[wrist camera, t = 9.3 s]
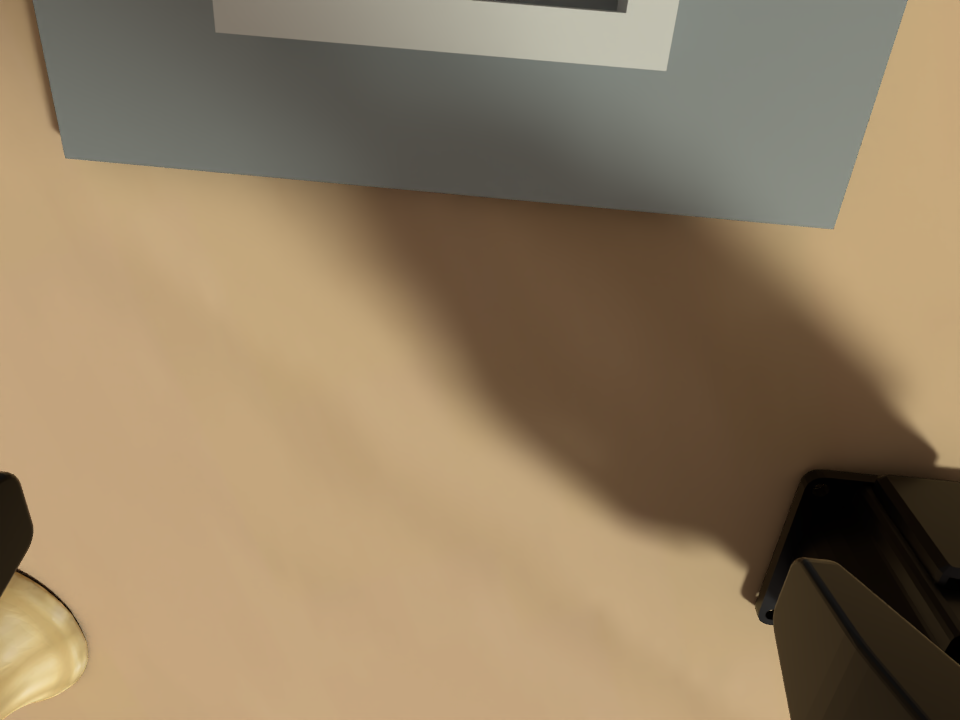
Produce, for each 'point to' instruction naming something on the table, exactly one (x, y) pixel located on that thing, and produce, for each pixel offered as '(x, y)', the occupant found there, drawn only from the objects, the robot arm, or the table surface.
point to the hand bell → (36, 646)
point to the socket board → (486, 96)
